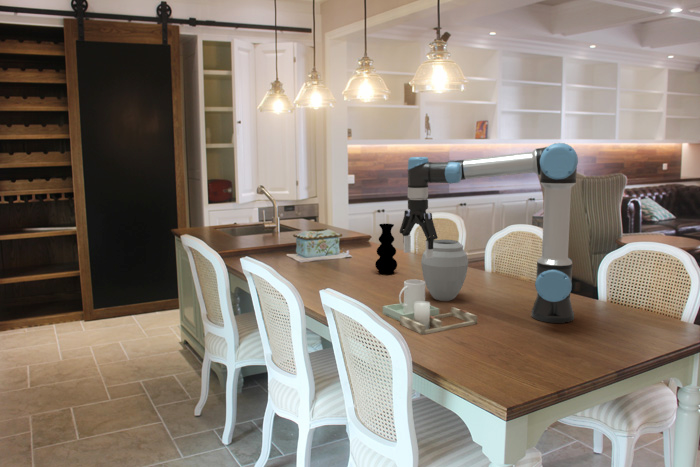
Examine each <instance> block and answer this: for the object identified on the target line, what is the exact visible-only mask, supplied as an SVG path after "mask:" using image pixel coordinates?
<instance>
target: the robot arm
mask: <svg viewBox="0 0 700 467" xmlns="http://www.w3.org/2000/svg"><path fill="white" fill-rule="evenodd" d="M407 161H408V162H407V199H408V200H407V210H404V214H403V218H402V222H401V225H400V229H399V234H402V238H403V239H402V240H403V241H402V242H403V243H402V244H403V253H404V254H407V253H411V251H412V250H411V249H412V248H411V247H412V246H411V232H412V230H413V228H414V227H415V225H419V226H420V228H421V230H422V232H423V234H424V237H425V238H426V240H425V250H426V258H433V241H434V240H438V234H437V231H436V226H435V224H434V221H433V213H432V212H427V210H428V209H429V199H428V197H429V184H436V183H437V184H459V183H460V182H461V181H464V180H472V179H473V180H474V179H482V178H483V179H484V178H493V177H494V178H495V177H501V176H503V177H504V176H513V175H514V176H515V175H522V174H523V175H525V174H535V175H537V176H540V179H539V183H540V185H541V186H542V187H543V188H544V190H543V191H544V192H543V193H544V194H543V199H544V200H543V220H542V246H541V248H542V249H541V256H540V257H539V258H538V259H537V260H536V263H537V264H536V279H535V282H534V283H535V284H534V288H535V290H536V294H537V295H536V299H535V301H534V303H533V306H532V308H531V317H532V318H533V319H534V320H537V321H540V322H544V323H549V324H550V323H552V324H566V323H565V322H568V323H571V322H573V321H574V320H575V312H574V310H573V305H572V302H571V292H572V288H573V284H572V282H573V281H572V276H573V260H572V259H571V258H570V257H569V243H570V241H569V238H570V237H569V236H570V223H571V221H570V218H571V197H572V193H571V192H572V187H574V186H575V185H577V171H578V169H577V168H578V167H577V166H578V165H579V164H578V163H579V157H578V154H577V152H576V150H575V149H574V148H573V147H572V146H571V145H569V144H568V143H565V142H557V143H552V144H550V145H548V146H545V147H540V148H535V149H534V150H532V151H529V152H528V151H527V152H521V153H511V154H502V155H494V156H485V157H477V158H466V159H458V160H449V161H440V162H438V161H437V162H431V161H429V157H428V156H411V157H408V160H407ZM572 320H573V321H572ZM570 321H571V322H570Z"/></svg>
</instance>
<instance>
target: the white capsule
mask: <svg viewBox="0 0 700 467" xmlns="http://www.w3.org/2000/svg"><path fill="white" fill-rule="evenodd" d="M430 305H431V302H430V301H426V300H425V301H416V302H414V321H416V322H418V323H420V324H423V325H425V330H427V329H430V327H431V326H430Z"/></svg>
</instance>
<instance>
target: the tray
mask: <svg viewBox="0 0 700 467" xmlns="http://www.w3.org/2000/svg"><path fill="white" fill-rule="evenodd" d="M402 303H403V304H404V302H402ZM403 309H404V307H403V306H402V305H401V304H400V302H399V303H394V304H388V305H382V314H383V315H385V316H387V317H389V318H391V319H394V320H395V321H399V322H400V316H404V317H406V318H409V319H411V320H413V319H414V312H413V313H407V314H405V313H403ZM430 315H431V316H435V315H440V308H438V307H435V306H433V305H431V304H430Z"/></svg>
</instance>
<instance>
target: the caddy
mask: <svg viewBox="0 0 700 467" xmlns="http://www.w3.org/2000/svg"><path fill="white" fill-rule="evenodd" d="M448 317H455V318H458V319H460V320H463V321H464V322H459V323H455V324H450V325H444V326H443V320H440V319H443V318H448ZM476 324H478V315H476V314H474V313H470V312H469V310H466V309H459V308H457V307H455V306H453V307H452V306H451V307H450V312H448V313H439V315H435V316H431V315H430V327H431V328H429V329H426V330H425V325H423V324H420V323H418V322H416V321H414V319H413V320H411V319H409V318H406V317H404V316H400V321H399V325H401V326H402V327H405V328H407V329H409V330H411V331H414V332H415V333H417V334H418V333H419V334H420V335H429V334H432V333H437V332H438V333H439V332H442V331H447V330H452V329H459V328H462V327H469V326H472V325H476Z"/></svg>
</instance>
